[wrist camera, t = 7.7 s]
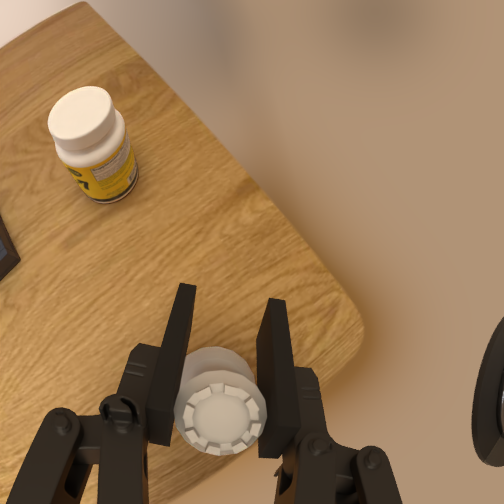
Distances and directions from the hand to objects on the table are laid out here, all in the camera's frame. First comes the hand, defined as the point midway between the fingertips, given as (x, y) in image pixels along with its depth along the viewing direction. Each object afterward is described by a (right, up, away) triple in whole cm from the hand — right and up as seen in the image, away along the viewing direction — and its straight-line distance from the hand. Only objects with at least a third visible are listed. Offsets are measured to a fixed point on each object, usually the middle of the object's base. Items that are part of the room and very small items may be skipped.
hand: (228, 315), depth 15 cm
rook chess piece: (-1, -4, +2) cm, 5 cm away
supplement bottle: (-10, +9, +8) cm, 15 cm away
